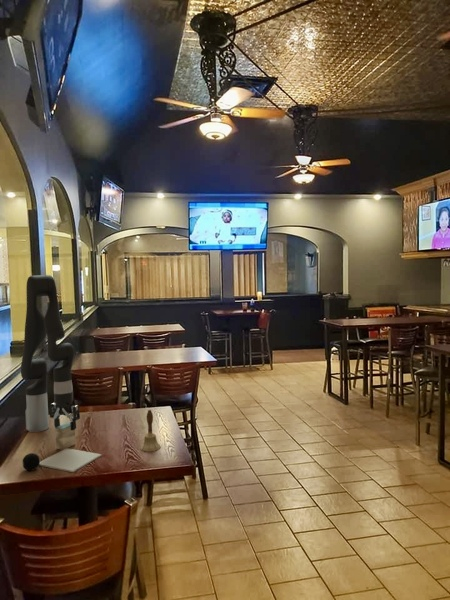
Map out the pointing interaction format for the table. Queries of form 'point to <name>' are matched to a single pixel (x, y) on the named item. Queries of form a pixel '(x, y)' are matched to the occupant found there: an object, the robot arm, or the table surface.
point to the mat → (69, 460)
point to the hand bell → (150, 436)
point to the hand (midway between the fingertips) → (65, 428)
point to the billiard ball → (31, 461)
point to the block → (64, 436)
